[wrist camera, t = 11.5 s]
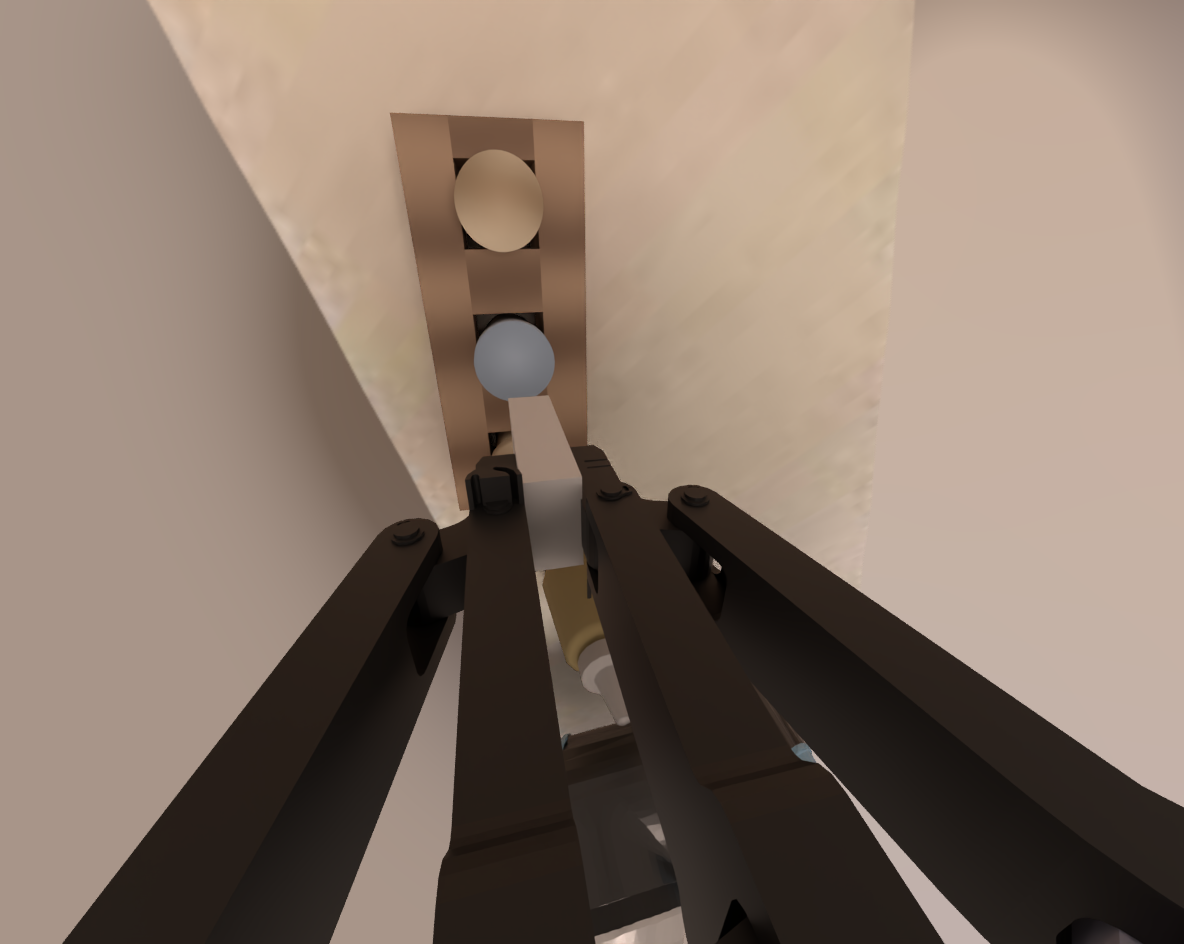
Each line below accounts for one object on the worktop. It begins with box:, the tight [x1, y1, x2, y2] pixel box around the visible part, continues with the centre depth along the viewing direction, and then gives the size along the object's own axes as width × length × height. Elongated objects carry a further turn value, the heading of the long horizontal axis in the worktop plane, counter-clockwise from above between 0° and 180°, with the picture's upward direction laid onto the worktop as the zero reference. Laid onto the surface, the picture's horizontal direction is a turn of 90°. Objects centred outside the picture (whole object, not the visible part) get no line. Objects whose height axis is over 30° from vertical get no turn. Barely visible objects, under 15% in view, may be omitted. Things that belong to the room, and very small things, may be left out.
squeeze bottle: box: [542, 551, 630, 726], centre depth 38 cm, size 8×8×18 cm
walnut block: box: [390, 113, 587, 511], centre depth 31 cm, size 24×10×6 cm, turn 1°
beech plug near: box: [454, 150, 543, 252], centre depth 26 cm, size 5×5×7 cm
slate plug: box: [474, 313, 555, 401], centre depth 28 cm, size 5×5×7 cm
